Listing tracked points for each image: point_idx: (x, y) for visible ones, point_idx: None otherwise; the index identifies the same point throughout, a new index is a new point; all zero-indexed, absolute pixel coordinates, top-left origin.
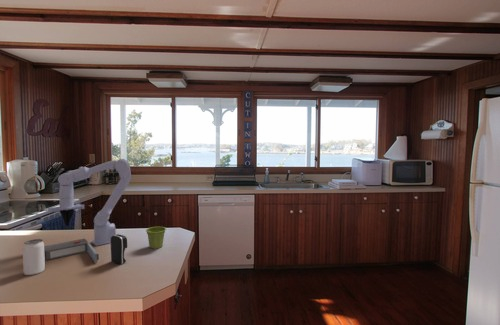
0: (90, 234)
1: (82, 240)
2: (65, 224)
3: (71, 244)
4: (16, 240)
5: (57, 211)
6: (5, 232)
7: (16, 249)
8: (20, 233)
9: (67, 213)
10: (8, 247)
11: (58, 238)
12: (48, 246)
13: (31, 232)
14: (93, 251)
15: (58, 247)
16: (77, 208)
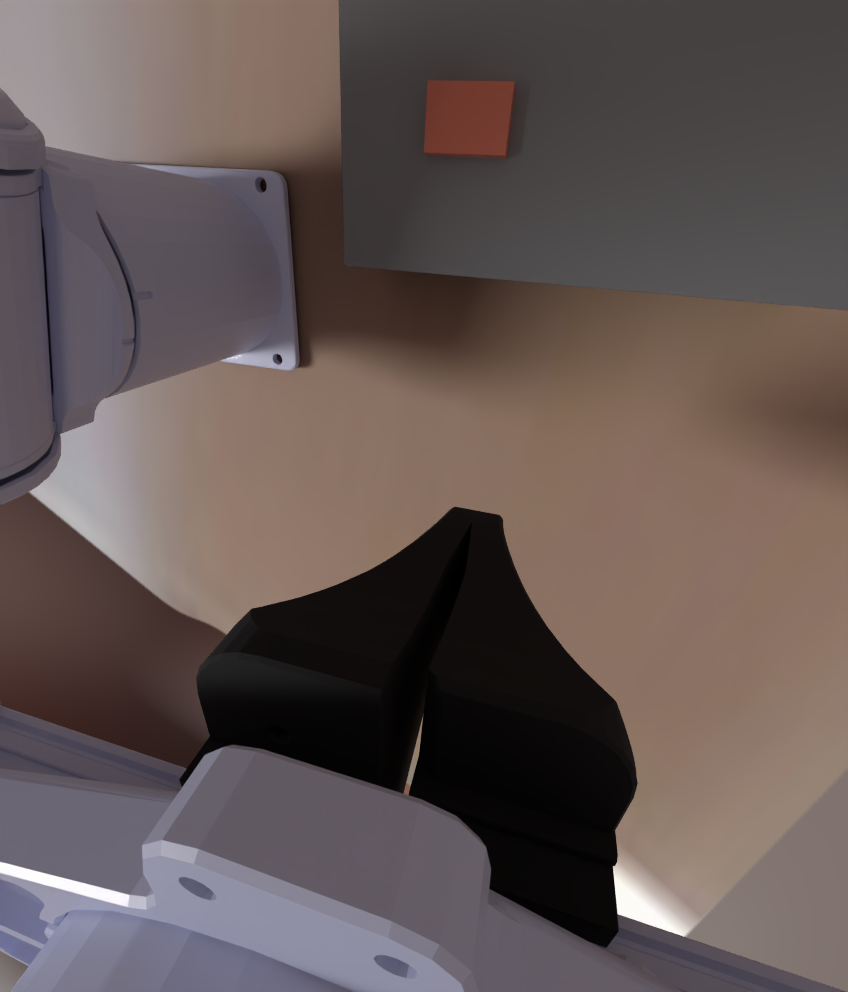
0: (284, 579)
1: (385, 176)
2: (502, 530)
3: (563, 53)
4: (702, 822)
5: (710, 949)
6: None
7: (831, 667)
8: (617, 894)
9: (404, 722)
10: (831, 748)
11: None
12: (834, 238)
13: None
14: None
15: (785, 11)
16: (71, 765)
